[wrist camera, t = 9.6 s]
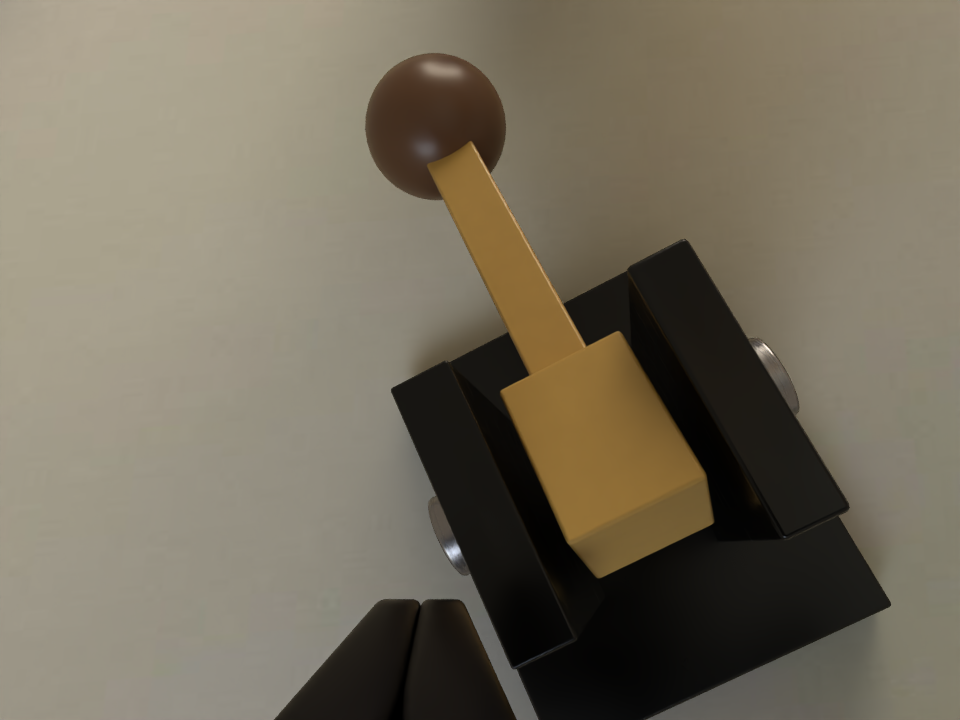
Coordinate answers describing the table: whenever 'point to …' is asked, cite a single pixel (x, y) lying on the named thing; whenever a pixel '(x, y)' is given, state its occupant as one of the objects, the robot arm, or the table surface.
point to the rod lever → (542, 330)
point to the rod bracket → (675, 568)
